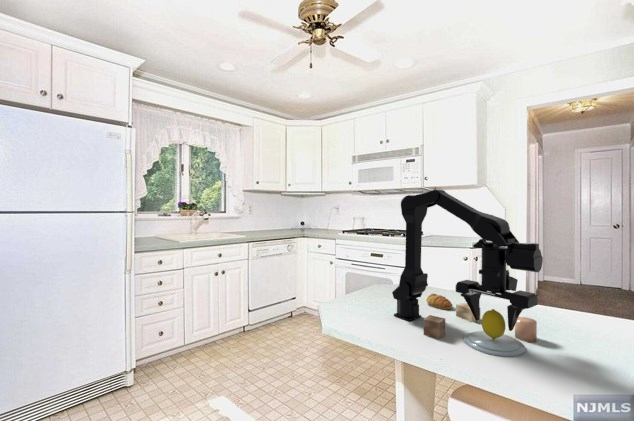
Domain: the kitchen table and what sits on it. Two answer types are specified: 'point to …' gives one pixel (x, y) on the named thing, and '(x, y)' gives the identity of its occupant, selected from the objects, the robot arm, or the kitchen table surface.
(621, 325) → the kitchen table surface
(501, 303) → the kitchen table surface
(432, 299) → the pastry
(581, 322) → the kitchen table surface
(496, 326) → the lemon
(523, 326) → the pink cylinder
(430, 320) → the walnut block
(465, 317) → the beech block
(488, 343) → the plate
